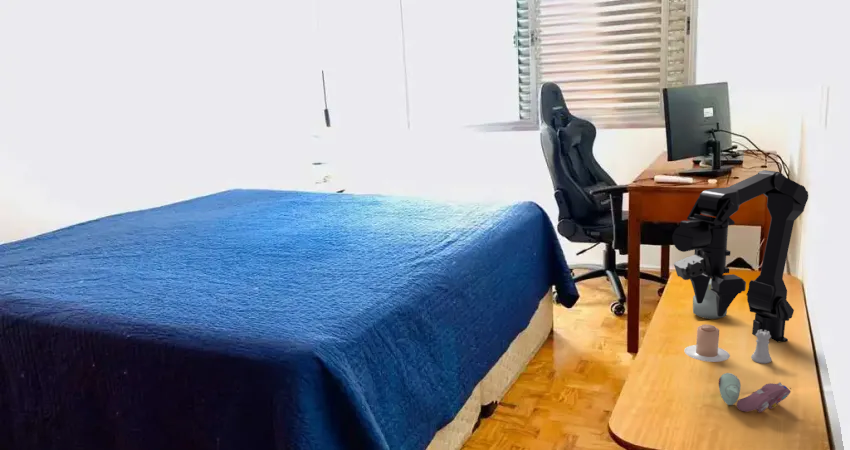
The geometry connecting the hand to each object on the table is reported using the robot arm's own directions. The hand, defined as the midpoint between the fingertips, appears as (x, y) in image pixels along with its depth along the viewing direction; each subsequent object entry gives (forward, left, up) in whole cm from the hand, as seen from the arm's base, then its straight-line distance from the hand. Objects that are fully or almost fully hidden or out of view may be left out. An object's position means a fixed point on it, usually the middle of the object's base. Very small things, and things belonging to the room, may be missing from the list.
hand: (709, 309), depth 158 cm
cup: (0, 0, -11) cm, 11 cm away
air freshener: (-15, -26, -12) cm, 32 cm away
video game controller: (+2, +26, -12) cm, 29 cm away
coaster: (0, 0, -12) cm, 12 cm away
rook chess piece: (-10, +6, -12) cm, 17 cm away
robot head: (+8, +23, -12) cm, 27 cm away
